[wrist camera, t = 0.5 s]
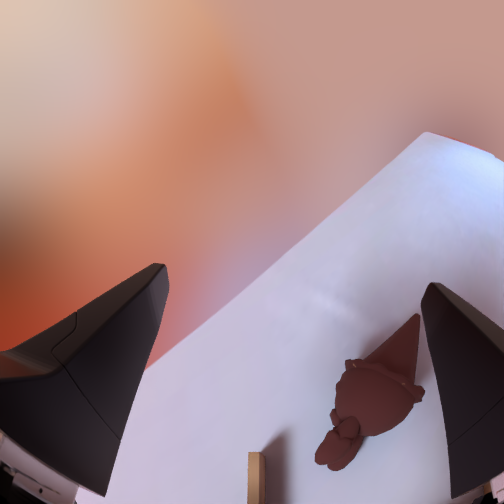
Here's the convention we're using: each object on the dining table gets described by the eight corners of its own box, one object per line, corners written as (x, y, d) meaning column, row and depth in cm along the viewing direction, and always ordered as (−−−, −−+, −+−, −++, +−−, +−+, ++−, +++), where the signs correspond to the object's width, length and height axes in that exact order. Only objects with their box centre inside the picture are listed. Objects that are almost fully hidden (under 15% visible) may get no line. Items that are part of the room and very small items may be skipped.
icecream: (377, 279, 23) (270, 433, 17) (458, 298, 18) (359, 488, 12) (385, 325, 27) (300, 452, 21) (450, 344, 22) (369, 491, 15)
